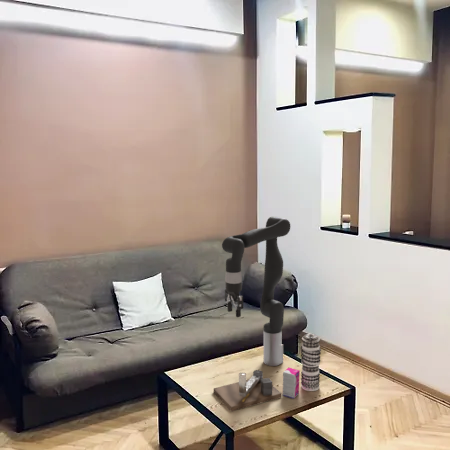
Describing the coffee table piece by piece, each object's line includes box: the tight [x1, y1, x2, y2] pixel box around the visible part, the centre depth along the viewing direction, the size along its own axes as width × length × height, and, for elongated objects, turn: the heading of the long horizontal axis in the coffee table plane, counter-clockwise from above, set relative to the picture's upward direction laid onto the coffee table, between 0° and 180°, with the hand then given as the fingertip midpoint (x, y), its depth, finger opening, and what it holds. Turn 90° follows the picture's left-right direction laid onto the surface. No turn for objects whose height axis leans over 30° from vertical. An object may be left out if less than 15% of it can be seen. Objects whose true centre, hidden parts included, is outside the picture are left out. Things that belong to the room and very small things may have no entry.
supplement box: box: [282, 367, 301, 399], centre depth 222 cm, size 6×6×12 cm
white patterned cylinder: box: [300, 333, 322, 392], centre depth 228 cm, size 9×9×25 cm
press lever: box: [238, 369, 264, 397], centre depth 223 cm, size 22×4×12 cm, turn 155°
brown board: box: [213, 377, 283, 412], centre depth 223 cm, size 25×18×8 cm
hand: (234, 314), depth 232 cm, fingers open, 8 cm apart
